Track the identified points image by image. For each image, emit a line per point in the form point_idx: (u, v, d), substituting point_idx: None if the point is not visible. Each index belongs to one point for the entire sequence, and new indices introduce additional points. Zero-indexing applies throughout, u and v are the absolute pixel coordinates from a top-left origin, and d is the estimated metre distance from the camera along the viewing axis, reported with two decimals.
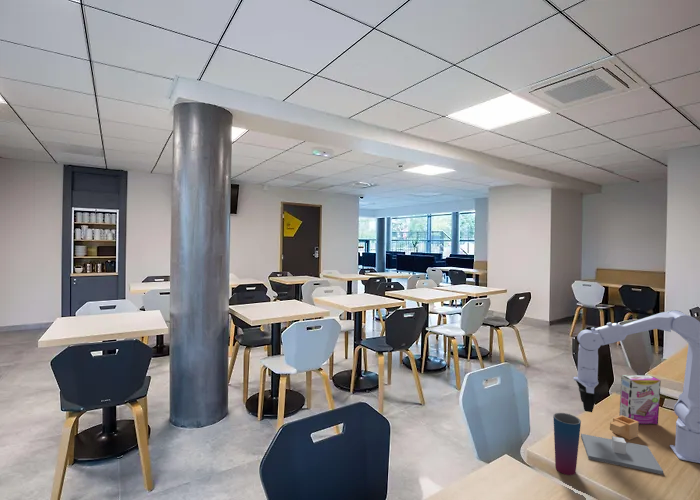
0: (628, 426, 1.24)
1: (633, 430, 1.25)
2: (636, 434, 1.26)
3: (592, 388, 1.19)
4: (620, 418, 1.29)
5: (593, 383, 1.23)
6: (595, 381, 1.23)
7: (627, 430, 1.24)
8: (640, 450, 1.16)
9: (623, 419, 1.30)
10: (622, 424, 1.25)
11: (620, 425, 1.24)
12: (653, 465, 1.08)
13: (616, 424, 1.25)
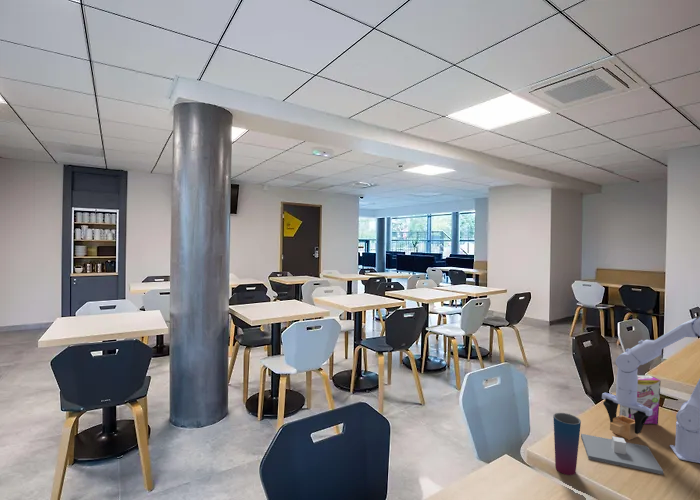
0: (628, 426, 1.24)
1: (633, 430, 1.25)
2: (636, 434, 1.26)
3: None
4: (620, 418, 1.29)
5: (615, 399, 1.29)
6: (616, 398, 1.28)
7: (627, 430, 1.24)
8: (640, 450, 1.16)
9: (623, 419, 1.30)
10: (622, 424, 1.25)
11: (620, 425, 1.24)
12: (653, 465, 1.08)
13: (616, 424, 1.25)
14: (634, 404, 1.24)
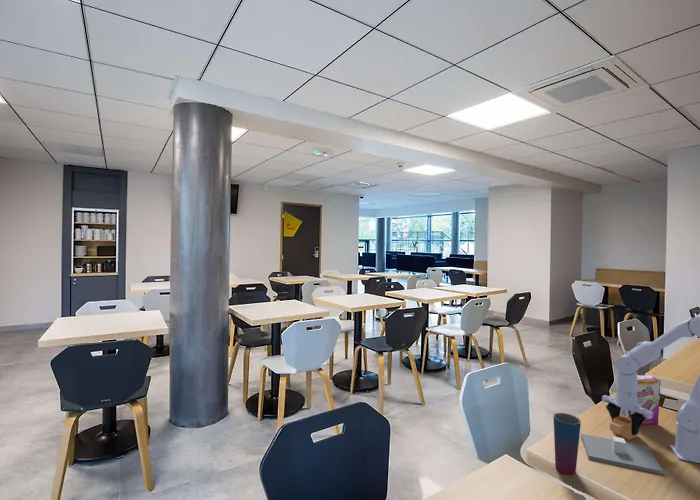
0: (628, 426, 1.24)
1: None
2: None
3: None
4: (620, 418, 1.29)
5: (615, 401, 1.29)
6: (616, 401, 1.28)
7: (627, 430, 1.24)
8: (640, 450, 1.16)
9: (623, 419, 1.30)
10: (622, 424, 1.25)
11: (620, 425, 1.24)
12: (653, 465, 1.08)
13: (616, 424, 1.25)
14: (634, 407, 1.24)
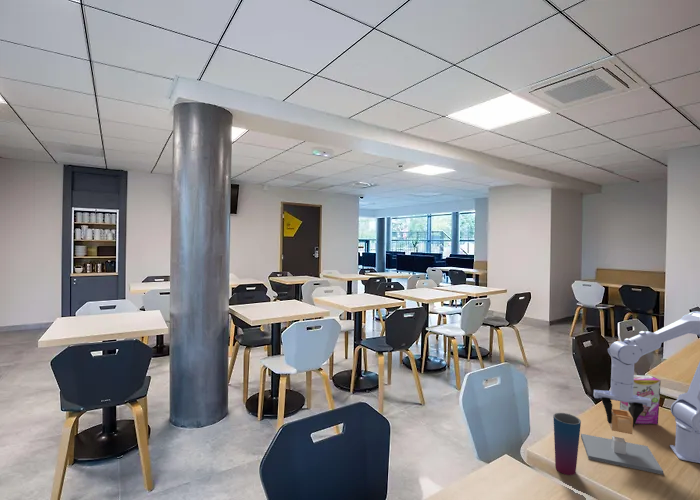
0: (631, 420, 1.14)
1: None
2: None
3: (594, 392, 1.19)
4: None
5: (612, 395, 1.17)
6: (615, 395, 1.16)
7: None
8: (640, 450, 1.16)
9: (612, 412, 1.20)
10: (627, 419, 1.14)
11: (628, 421, 1.12)
12: (653, 465, 1.08)
13: (625, 422, 1.12)
14: (633, 397, 1.15)
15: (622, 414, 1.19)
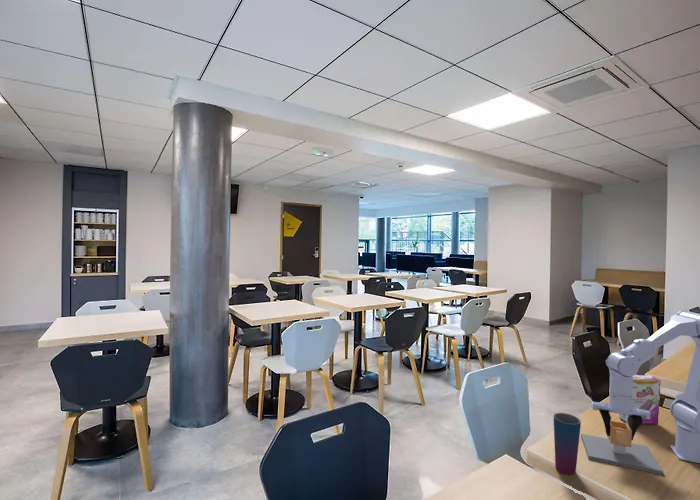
0: (630, 433, 1.12)
1: None
2: None
3: (592, 404, 1.18)
4: None
5: (610, 407, 1.15)
6: (614, 407, 1.14)
7: None
8: (640, 450, 1.16)
9: (611, 424, 1.18)
10: (625, 432, 1.12)
11: (627, 435, 1.11)
12: (653, 465, 1.08)
13: (624, 435, 1.10)
14: (631, 409, 1.13)
15: (621, 426, 1.17)
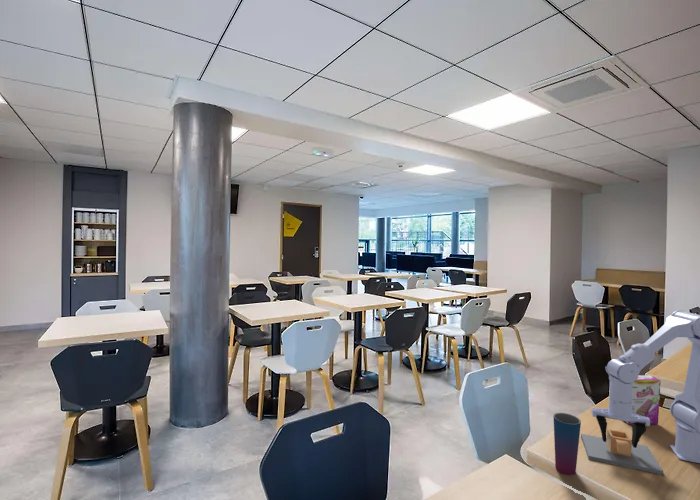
0: (630, 442, 1.13)
1: None
2: None
3: (592, 410, 1.18)
4: None
5: (610, 414, 1.15)
6: (613, 414, 1.14)
7: None
8: (640, 450, 1.16)
9: (610, 433, 1.18)
10: (625, 442, 1.12)
11: (627, 444, 1.11)
12: (653, 465, 1.08)
13: (624, 445, 1.11)
14: (631, 416, 1.14)
15: (620, 435, 1.17)
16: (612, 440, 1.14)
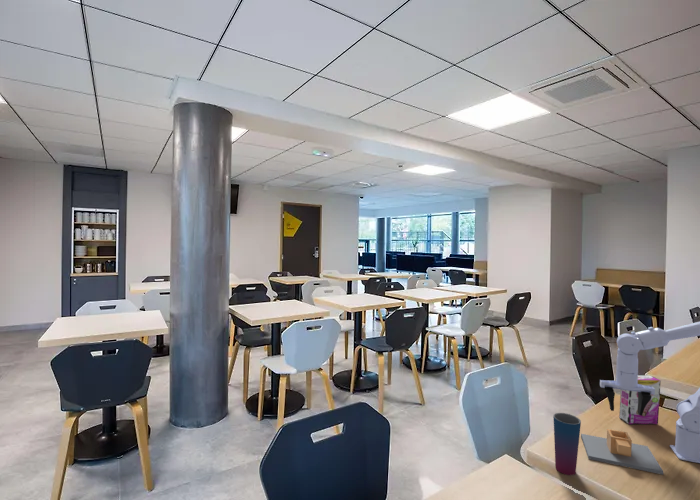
0: (630, 442, 1.13)
1: None
2: None
3: (601, 382, 1.26)
4: None
5: (618, 384, 1.23)
6: (621, 384, 1.22)
7: None
8: (640, 450, 1.16)
9: (610, 433, 1.18)
10: (625, 442, 1.12)
11: (627, 444, 1.11)
12: (653, 465, 1.08)
13: (624, 445, 1.11)
14: (637, 386, 1.22)
15: (620, 435, 1.17)
16: (612, 440, 1.14)
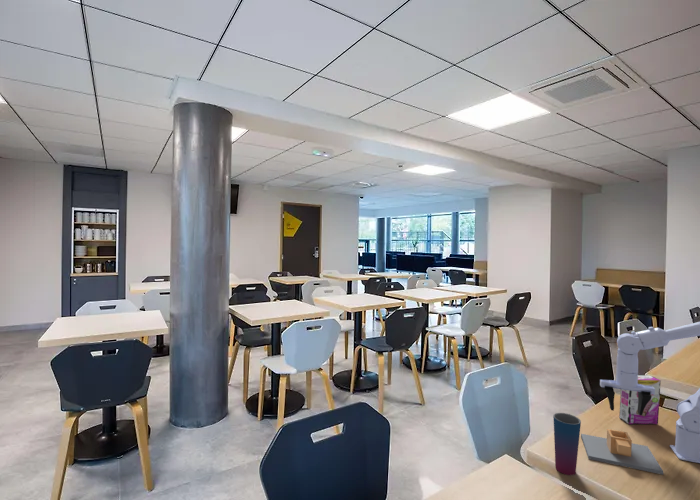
0: (630, 442, 1.13)
1: None
2: None
3: (601, 381, 1.26)
4: None
5: (618, 384, 1.23)
6: (621, 384, 1.22)
7: None
8: (640, 450, 1.16)
9: (610, 433, 1.18)
10: (625, 442, 1.12)
11: (627, 444, 1.11)
12: (653, 465, 1.08)
13: (624, 445, 1.11)
14: (637, 385, 1.22)
15: (620, 435, 1.17)
16: (612, 440, 1.14)
